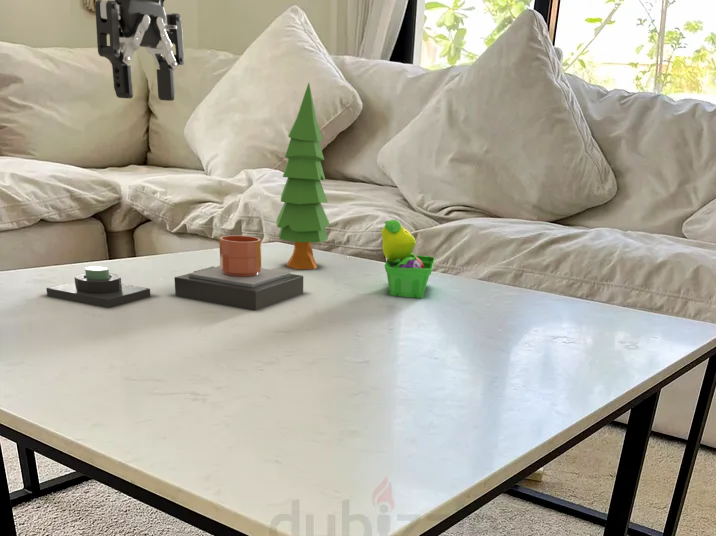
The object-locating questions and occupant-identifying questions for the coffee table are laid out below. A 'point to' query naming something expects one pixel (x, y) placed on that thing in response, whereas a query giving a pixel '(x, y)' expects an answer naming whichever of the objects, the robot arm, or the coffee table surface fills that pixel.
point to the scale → (239, 287)
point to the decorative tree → (303, 188)
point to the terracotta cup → (240, 255)
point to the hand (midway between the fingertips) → (146, 99)
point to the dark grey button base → (98, 291)
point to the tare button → (97, 273)
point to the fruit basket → (404, 262)
